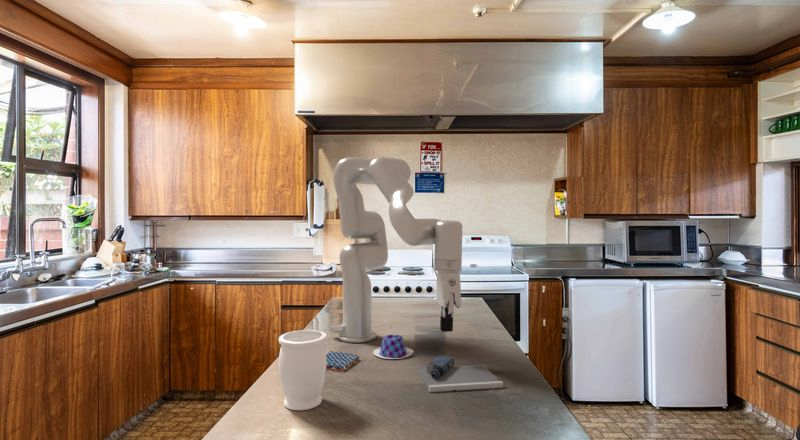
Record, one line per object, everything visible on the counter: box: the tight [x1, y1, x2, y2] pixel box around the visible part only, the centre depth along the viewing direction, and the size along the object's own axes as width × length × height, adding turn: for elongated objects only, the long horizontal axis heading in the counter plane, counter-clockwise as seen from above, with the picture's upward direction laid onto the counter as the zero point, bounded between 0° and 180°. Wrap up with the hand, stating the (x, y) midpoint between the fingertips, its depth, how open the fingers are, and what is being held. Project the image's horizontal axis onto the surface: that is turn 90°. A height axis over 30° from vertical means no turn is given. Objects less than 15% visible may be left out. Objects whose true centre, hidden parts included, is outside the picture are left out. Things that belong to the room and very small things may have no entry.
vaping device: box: [426, 355, 455, 379], centre depth 114 cm, size 3×5×12 cm
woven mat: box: [326, 350, 361, 373], centre depth 122 cm, size 10×11×2 cm
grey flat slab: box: [418, 364, 504, 393], centre depth 111 cm, size 18×14×1 cm
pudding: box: [372, 334, 414, 360], centre depth 131 cm, size 12×12×5 cm
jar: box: [278, 329, 327, 411], centre depth 97 cm, size 11×10×15 cm
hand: (446, 330), depth 122 cm, fingers closed
